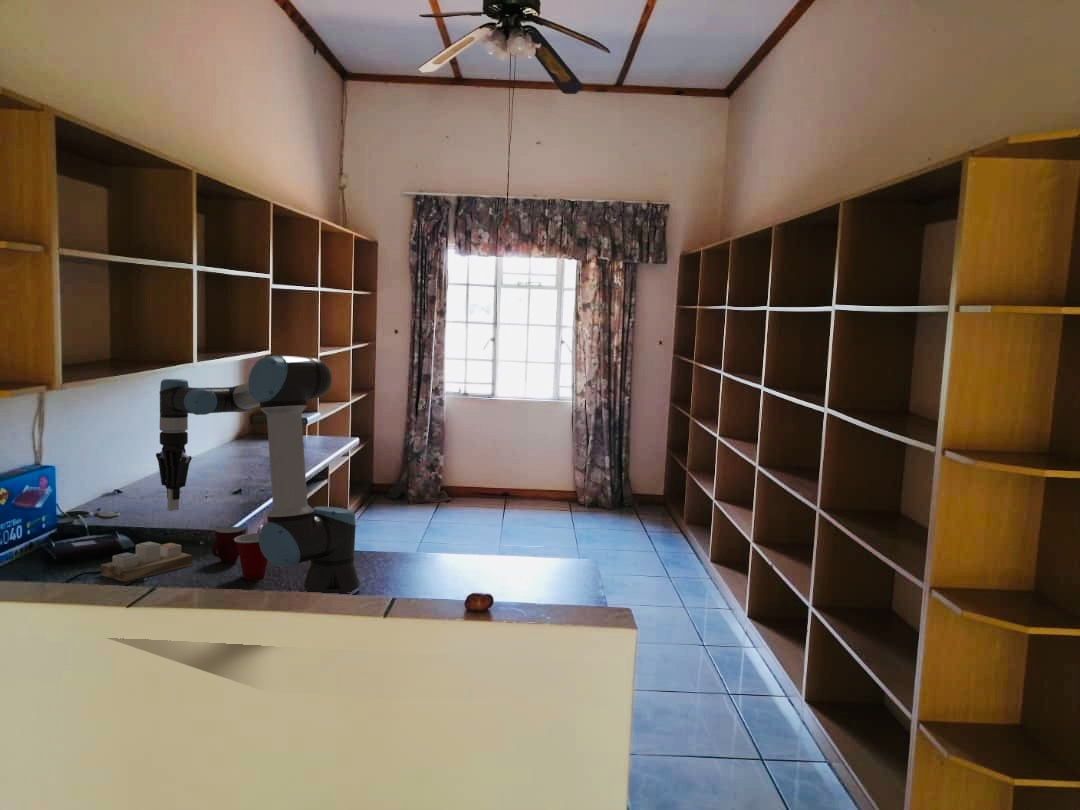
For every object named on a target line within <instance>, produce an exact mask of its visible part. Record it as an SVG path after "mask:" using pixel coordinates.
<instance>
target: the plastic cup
mask: <svg viewBox="0 0 1080 810" xmlns="http://www.w3.org/2000/svg"><path fill="white" fill-rule="evenodd" d="M234 541H235V542H236V544H237V547H238V551H239V561H240V566H241V572H242V576H243V578H244V579H246V580H257V579H262V578H264V577H265V575H266V571H267V566H268V563H269V561H268V560H267V559H266V558H265V557H264V555H263V553H262V551H261V549H260V545H259V532H252V533H246V534H243V535H241V536H238V537H236V538H235V539H234Z"/></svg>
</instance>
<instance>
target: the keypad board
mask: <svg viewBox="0 0 1080 810" xmlns="http://www.w3.org/2000/svg"><path fill="white" fill-rule="evenodd" d="M192 565H193V555H192V554H189V553H185V552H181V555H178V556H174V557H170V558H164V557H160V560H158V561H154V562H150V563H146V564H145V563H141V562H138V565H137V566H133V567H129V568H125V569H120V568H116V567H112V562H111V561H110V562H107V563H102V564H101V565H100V574H101V575H100V576H103V577H107V578H110V579H113V580H118V581H122V582H125V583H128V582H131V581H137V580H139V579H143V578H146V577H151V576H155V575H159V574H162V573H166V572H169V571H173V570H178V569H181V568H185V567H190V566H192Z"/></svg>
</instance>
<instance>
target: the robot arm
mask: <svg viewBox="0 0 1080 810" xmlns="http://www.w3.org/2000/svg"><path fill="white" fill-rule="evenodd" d="M332 377H333V376H332V373H331V370H330V368H329V367H328V365H327V364H326V363H325V362H324V361H323V360H321V359H319V358H317V357H313V356H295V355H294V356H293V355H292V356H291V355H270V356H263V357H261V358H259V359H257V361H256V362H255V363H254V366H252V367H251V370H250V372H249V375H248V382H246V383H243V384H239V385H236V386H235V385H234V386H228V387H227V386H226V387H190V385H189V382H188V380H187V379H184V378H183V379H182V378H181V379H180V378H166V379H165V378H164V379H162V380H161V381H160V387H159V389H160V390H159V391H158V392H159V430H160V431H161V432H159V444H160V445H161V446H162V447H161V451H160V452H156V453H155V457H156V459H157V461H158V462H157V463H158V471H159V475H160V482H161V483H160V484H161V485H162V486H165V488H166V499H167V509H166V510H167V511H168V512H172V511H173V512H174V511H179V510H180V504H179V503H180V498H181V497H180V495H181V488H185V487H186V483H187V478H188V473H189V467H190V464H191V461H192V459H193V457H192V456H191V455H188V454H187V451H186V447H185V446H187V444H189V443H188V442H189V438H188V437H189V434H188V432H187V431H188V429H189V427H188V425H189V424H188V420H189V414H191V415H195V416H196V415H197V416H199V415H200V416H201V415H202V416H205V415H209V414H220V413H244V412H248V411H252V409H254V408H257V407H259V409H260V410H261V412H263V414H265V415H266V423H267V424H266V425H267V437H268V440H267V441H268V452H269V453H268V455H269V466H270V467H269V469H270V481H271V497H272V508H271V510H270V511H269V512H268V513H267V515H266V516H267V523H265V524H264V525H263V526H261V528H260V531H259V532H258V533H259V545H260V549H261V551H262V553H263V555H264V557H265V558H266V559H267V560H268V563H270V564H271V565H273V566H275V567H278V568H283V567H284V568H285V567H289V566H296V565H298V564H301V563H305V562H309V561H310V562H309V563H310V564H309V567H308V569H307V572H306V575H305V576H306V577H305V580H304V581H303V584H302V585H303V587H302V592H303V591H307V592H322V593H339V594H350V593H347V592H352V591H353V590H355V589H357V588H358V587H359V586H361V583H360V582H361V581H360V579H359V578H358V572H357V568H356V565H355V549H356V548H355V544H356V541H355V539H356V527H357V524H356V515H355V512H354V511H352V510H350V509H348V508H342V507H335V506H314V507H313V508H312V507H311V506H310V505H309V504H308V493H307V492H308V491H307V490H308V489H307V479H306V477H307V476H306V464H305V462H306V459H305V449H304V448H305V447H304V433H303V432H304V431H303V418H302V417H303V416H302V413H303V412H304V410H306V409H307V407H308V403H307V402H308V400H311V401H312V400H316V399H319V398H321V397H323V396H324V395H326V394H327V392H328V391H329V390H330V388H331V385H332V381H333V379H332Z"/></svg>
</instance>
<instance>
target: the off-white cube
mask: <svg viewBox="0 0 1080 810" xmlns="http://www.w3.org/2000/svg"><path fill="white" fill-rule="evenodd" d="M111 559H112V567H116V568H120V569H125V568H129V567H133V566H137V565H138V555H136V553H131V552H123V553H119V554H115V555H112V558H111Z"/></svg>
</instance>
